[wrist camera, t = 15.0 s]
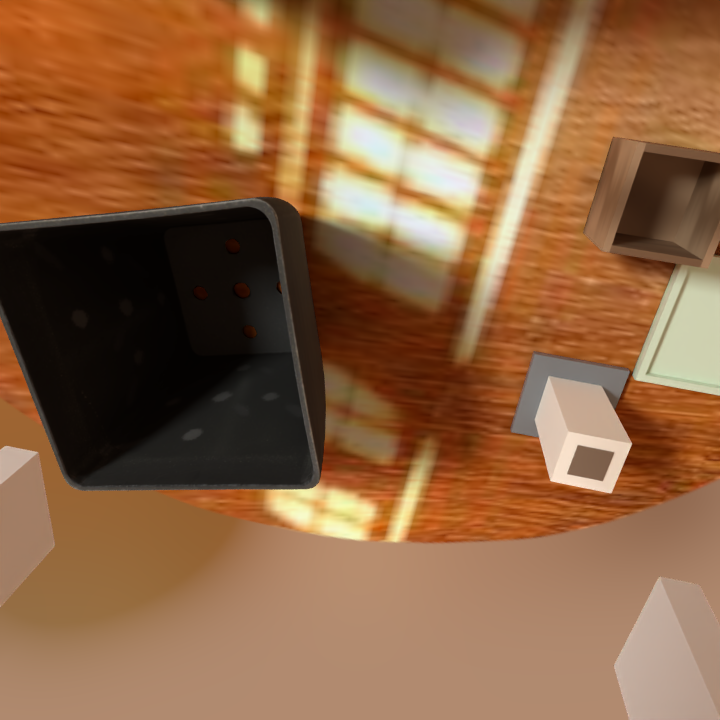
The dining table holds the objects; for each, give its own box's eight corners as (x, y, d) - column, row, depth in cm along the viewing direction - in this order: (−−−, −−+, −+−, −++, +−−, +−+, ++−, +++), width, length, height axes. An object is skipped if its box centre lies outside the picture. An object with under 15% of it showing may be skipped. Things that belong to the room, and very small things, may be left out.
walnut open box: (613, 136, 39) (638, 141, 34) (713, 151, 39) (754, 159, 34) (583, 232, 43) (601, 251, 37) (675, 248, 42) (707, 268, 37)
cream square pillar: (548, 376, 47) (568, 432, 39) (602, 385, 47) (633, 444, 39) (534, 420, 49) (550, 482, 41) (585, 430, 49) (612, 495, 41)
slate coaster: (533, 351, 47) (534, 354, 47) (628, 368, 47) (629, 371, 46) (510, 428, 51) (510, 431, 50) (597, 445, 50) (599, 449, 50)
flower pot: (334, 165, 43) (270, 197, 28) (361, 378, 51) (322, 492, 36) (119, 189, 47) (-39, 228, 32) (174, 384, 55) (68, 491, 39)
